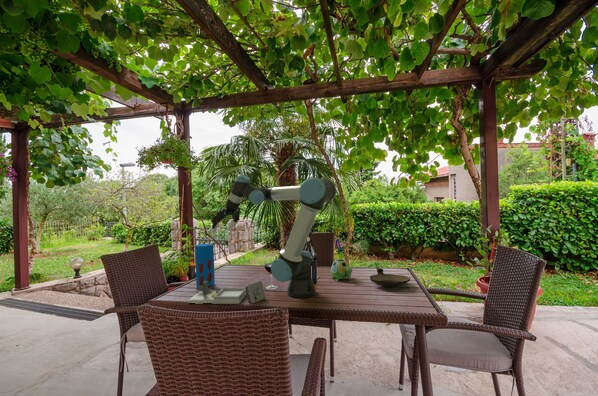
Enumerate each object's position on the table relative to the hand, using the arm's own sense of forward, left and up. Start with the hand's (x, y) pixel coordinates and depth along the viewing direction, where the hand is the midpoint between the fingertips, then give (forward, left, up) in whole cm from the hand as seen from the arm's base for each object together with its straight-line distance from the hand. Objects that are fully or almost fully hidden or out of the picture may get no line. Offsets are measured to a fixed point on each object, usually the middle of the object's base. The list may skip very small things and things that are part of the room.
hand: (221, 231), depth 174 cm
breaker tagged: (+2, +20, -31) cm, 37 cm away
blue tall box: (+13, -7, -34) cm, 37 cm away
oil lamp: (-97, -8, -34) cm, 103 cm away
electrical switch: (-24, +20, -34) cm, 46 cm away
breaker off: (+2, +13, -31) cm, 34 cm away
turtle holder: (-71, -19, -34) cm, 81 cm away
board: (-4, +17, -34) cm, 38 cm away
